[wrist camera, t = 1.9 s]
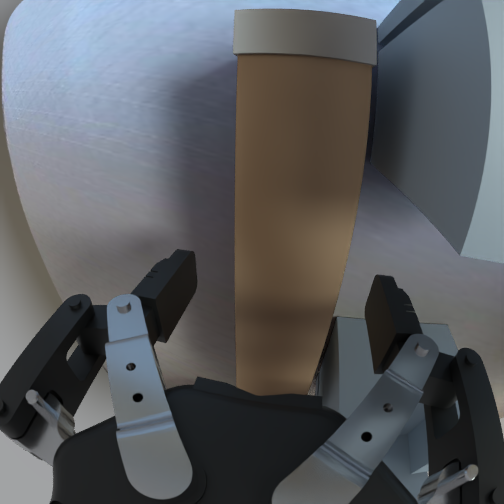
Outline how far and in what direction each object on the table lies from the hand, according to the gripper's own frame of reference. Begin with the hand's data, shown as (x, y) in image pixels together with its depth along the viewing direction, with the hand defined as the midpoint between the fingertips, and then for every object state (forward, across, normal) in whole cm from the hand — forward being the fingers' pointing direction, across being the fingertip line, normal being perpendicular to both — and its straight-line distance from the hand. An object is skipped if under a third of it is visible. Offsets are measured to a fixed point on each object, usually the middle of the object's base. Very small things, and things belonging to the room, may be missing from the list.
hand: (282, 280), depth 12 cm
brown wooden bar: (+4, 0, 0) cm, 4 cm away
